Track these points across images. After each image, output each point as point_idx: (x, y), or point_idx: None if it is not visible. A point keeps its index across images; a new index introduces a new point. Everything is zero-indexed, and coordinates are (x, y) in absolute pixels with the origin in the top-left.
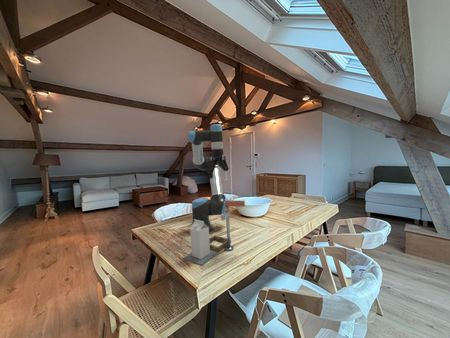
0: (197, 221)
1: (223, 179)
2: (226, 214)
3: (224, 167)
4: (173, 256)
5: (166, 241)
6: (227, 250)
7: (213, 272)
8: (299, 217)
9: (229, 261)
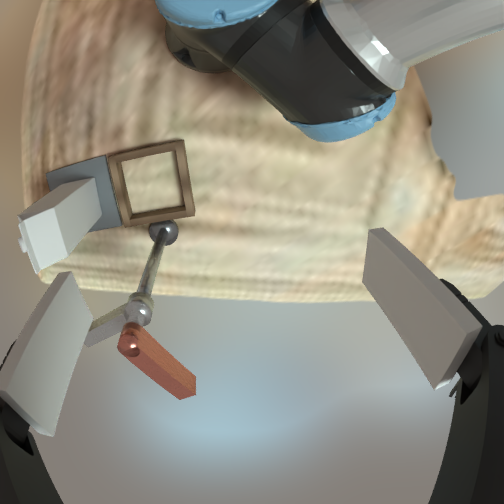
0: (27, 239)
1: (375, 244)
2: (105, 337)
3: (446, 454)
4: (35, 141)
5: (70, 28)
6: (151, 236)
7: (74, 272)
8: (456, 270)
9: (122, 271)
